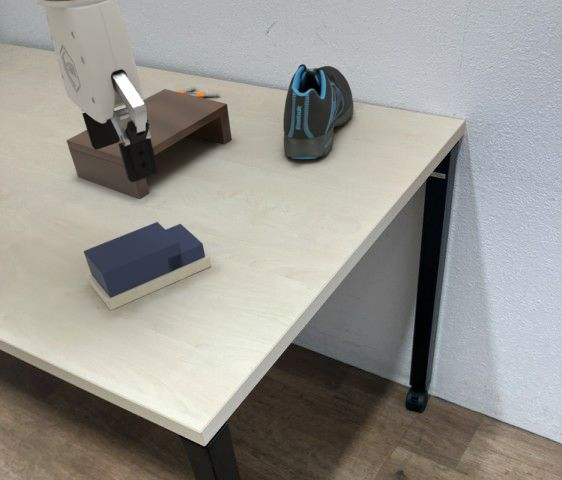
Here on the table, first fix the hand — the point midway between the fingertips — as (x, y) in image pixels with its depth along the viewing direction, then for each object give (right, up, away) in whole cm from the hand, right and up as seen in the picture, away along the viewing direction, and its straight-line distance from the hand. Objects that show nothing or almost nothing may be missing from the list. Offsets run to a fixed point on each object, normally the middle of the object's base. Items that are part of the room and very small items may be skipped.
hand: (124, 160), depth 66 cm
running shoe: (+24, +19, +38) cm, 49 cm away
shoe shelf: (-3, +12, +34) cm, 36 cm away
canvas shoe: (0, -11, +11) cm, 16 cm away
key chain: (-2, +29, +50) cm, 58 cm away
